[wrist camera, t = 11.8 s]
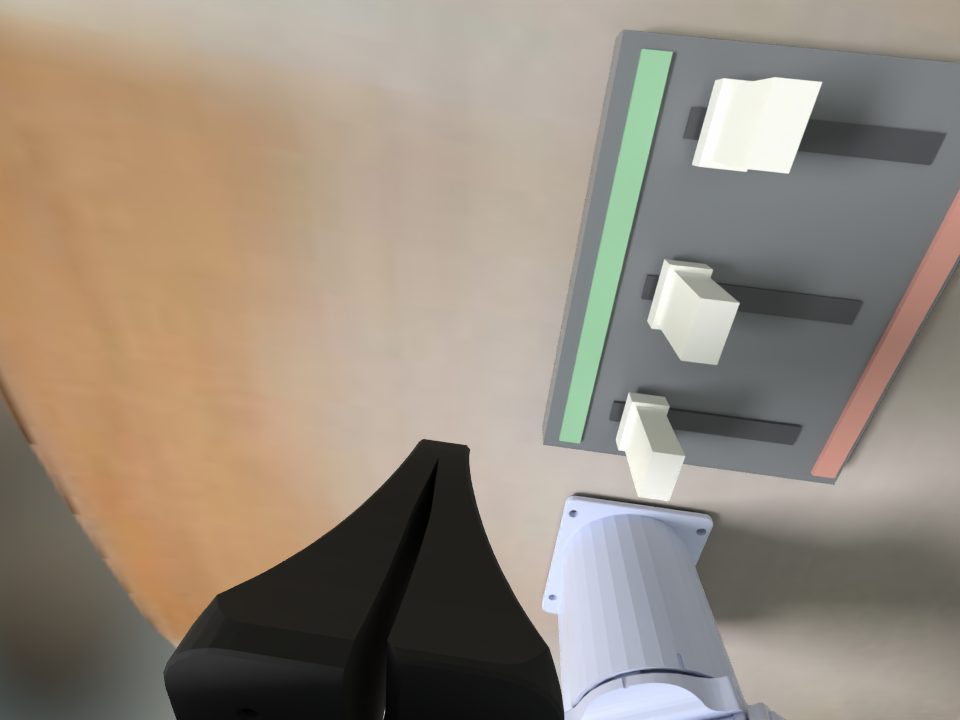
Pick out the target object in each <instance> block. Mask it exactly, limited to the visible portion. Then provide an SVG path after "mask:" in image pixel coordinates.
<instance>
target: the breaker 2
mask: <svg viewBox="0 0 960 720" xmlns="http://www.w3.org/2000/svg"><path fill="white" fill-rule="evenodd" d="M821 85H822V82H817V81H808V80H798V79H788V78H778V77H773V78H768V79H763V80H757V81H746V80H736V79H727V78H723V79H719V80H715V83H714V87H713V90H712V94H711V97H710V101H709V105H708V108H707V112H706V115H705V119H704V123H703V126H702V130H701V133H700V137H699V141H698V144H697V148H696V151H695V155H694V159H693V162H692V165H694V166H698V167H706V168H715V169H724V170H733V171H742V172H747V170H748V169H751V170H760V171H769V172H778V173H787V174H789V172H790V169H791V166H792V164H793V161H794V158H795V156H796V153H797V150H798V147H799V145H800V142H801V139H802V136H803V134H804V131H805V128H806V126H807V123H808V120H809V117H810V115H811V112H812V109H813V106H814V104H815V101H816V98H817V95H818V93H819V90H820V87H821Z"/></svg>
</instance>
